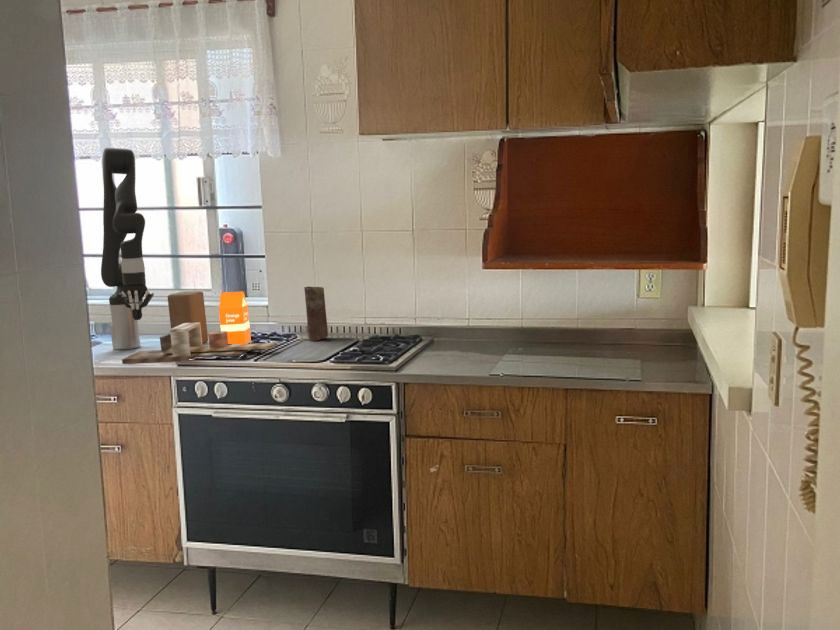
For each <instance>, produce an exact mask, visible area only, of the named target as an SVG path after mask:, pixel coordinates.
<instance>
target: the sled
mask: <svg viewBox="0 0 840 630" xmlns="http://www.w3.org/2000/svg"><path fill="white" fill-rule="evenodd" d="M207 334H208V344H209V345H203V346H197V347H190V352H206V351H228V350H249V349H253V350H266V349H267V350H268V349H273V348H274V347H276V346H277V344H276V342H265V343H263V342H262V343H250V344H239V345H228V337H227V331H221V330H219V331H212V332H210V333H207ZM159 341H160V350H161V351H163V354H164V353H172V344H171V336H170V332H169V333H165V334H164V335H162V336H160V337H159Z"/></svg>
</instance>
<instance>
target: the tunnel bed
mask: <svg viewBox="0 0 840 630" xmlns="http://www.w3.org/2000/svg"><path fill="white" fill-rule="evenodd" d="M169 333H170V336H171V344H172V353H164V354H163V351H161V349H158V350H155V349H153V350H138V351H136V352H134V353H132V354H130V355H128V356H126V357H124V358H122V359H121V362H122V365H123V364H139V363H140V364H141V363H143V364H144V363H163V362H164V363H166V362H167V363H169V362H182V361H181V360H189V359H193V358H195V357H212V356H241V355H242V354H243V353H245V352H246V351H248V350H228V351H206V352H190V347H197V346H204V343H203V344H202V335H201V325H200V322H196V323H183V324H181V325H179V326H177V327H174V328H172V329H171V328H169ZM189 361H190V360H189Z"/></svg>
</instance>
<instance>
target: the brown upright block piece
mask: <svg viewBox="0 0 840 630" xmlns="http://www.w3.org/2000/svg"><path fill="white" fill-rule="evenodd" d="M303 288H304V289H303V291H304V298H305V311H306V324H307V325H306V326H307V336H308V340H309V342H315V341H319V340H324V339H327V338H328V336H329V330H328V318H327V310H326V297H325V288H324V287H323V286H304V287H303Z"/></svg>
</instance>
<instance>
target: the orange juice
mask: <svg viewBox="0 0 840 630" xmlns="http://www.w3.org/2000/svg"><path fill="white" fill-rule="evenodd" d="M219 294H220V295H219V306H218V307H219V308H218V313H219V314H218V315H219V316H218V317H219V324H220V325H219V326H220V331H227V337H228V344H247V343H248V342H249V341H251V342H252V339H251V337H252V336H251V328H250V327H251V325H250V316H249V307H248V306H249V305H248V302H247V299H246V296H245V293H244V291H229V292H220V293H219Z"/></svg>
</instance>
